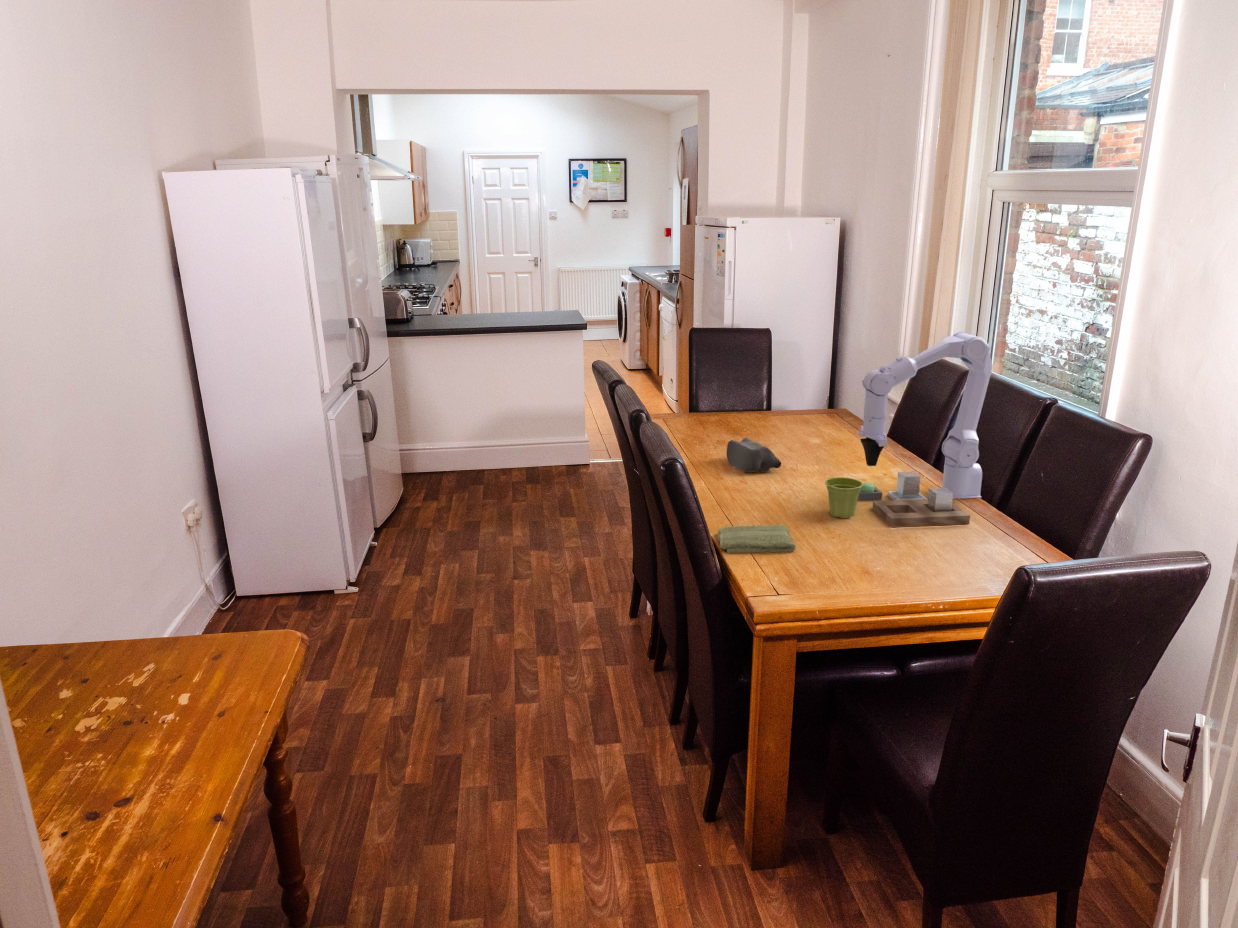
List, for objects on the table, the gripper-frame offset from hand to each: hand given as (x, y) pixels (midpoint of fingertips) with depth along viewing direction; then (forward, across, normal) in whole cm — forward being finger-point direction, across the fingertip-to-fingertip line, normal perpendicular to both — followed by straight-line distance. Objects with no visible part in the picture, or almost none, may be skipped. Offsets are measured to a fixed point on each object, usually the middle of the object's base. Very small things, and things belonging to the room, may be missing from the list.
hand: (871, 465), depth 234 cm
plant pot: (+10, +12, -12) cm, 19 cm away
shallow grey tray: (+9, +3, +10) cm, 14 cm away
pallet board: (+9, +16, +8) cm, 20 cm away
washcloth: (+10, +29, -38) cm, 49 cm away
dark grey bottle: (+10, -33, -25) cm, 42 cm away
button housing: (+9, 0, 0) cm, 9 cm away
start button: (+9, 0, 0) cm, 9 cm away
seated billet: (+9, +16, +12) cm, 22 cm away
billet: (+9, +3, +10) cm, 13 cm away
